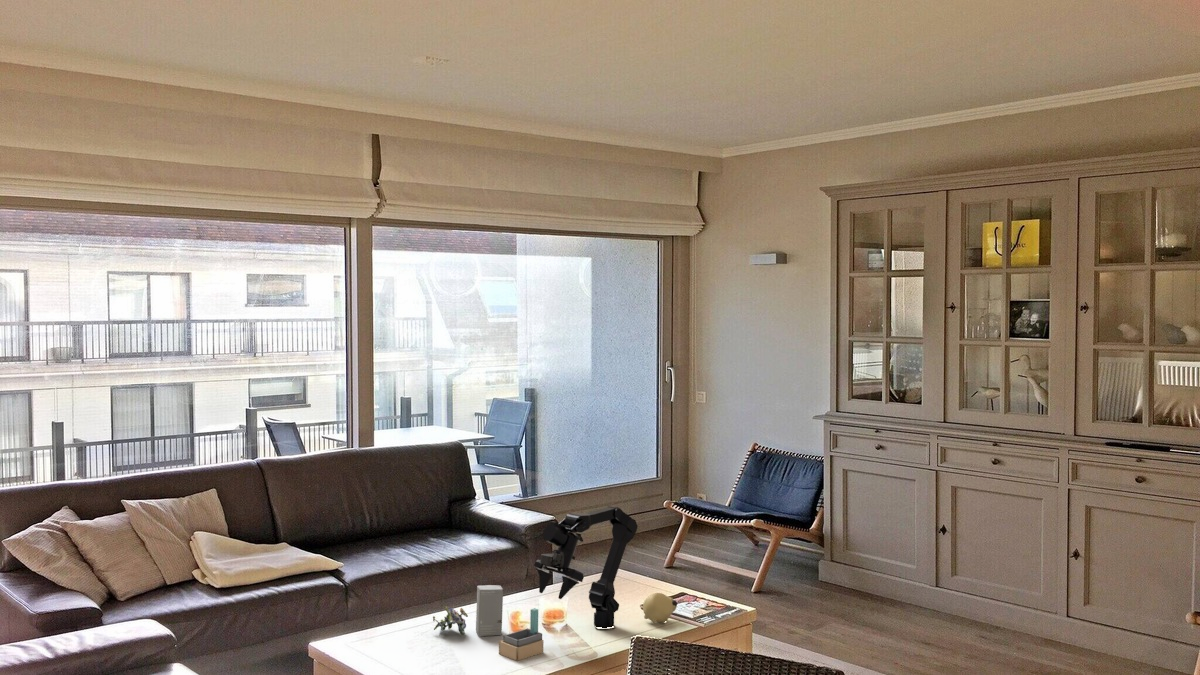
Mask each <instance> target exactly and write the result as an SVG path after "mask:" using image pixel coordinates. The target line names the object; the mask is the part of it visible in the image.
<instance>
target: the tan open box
mask: <svg viewBox="0 0 1200 675" xmlns="http://www.w3.org/2000/svg"><path fill="white" fill-rule="evenodd" d="M544 642H545V641H544V639H542V640H540V641H537V642H534V643H530V644H527V645H524V646H521V647H515V646H513V645H510V644H507V643H505V642H503V640H499V642H498V654H499V655H501V656H504V657H505V658H506V657H507V658H508V659H511V660H514V661H516V662H518V660H519V661H521V659H522V660H525V659H528V658H531V657H534V656H533V655H535V656H538V655H540V653H541V654H543V653H544ZM537 654H538V655H537ZM530 656H531V657H530ZM527 657H528V658H527ZM524 658H525V659H524Z"/></svg>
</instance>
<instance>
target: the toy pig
mask: <svg viewBox="0 0 1200 675" xmlns="http://www.w3.org/2000/svg"><path fill="white" fill-rule="evenodd" d="M677 606H678V602H677V601H676V600H674V599H673V597H671V596H668V595H666V594H664V593H662V592H654V593H652V594H650V595H648V596H647V598H645V600H644V602H643V605H642V610H643V614H644V616H643V618H644V620H650V621H651V622H653V623H655V624H656V623H663V622H665V621H667V622H668V620H669V619H670V617H671V615H672V614H673V613H674V612H675V611H676V610H677Z"/></svg>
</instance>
